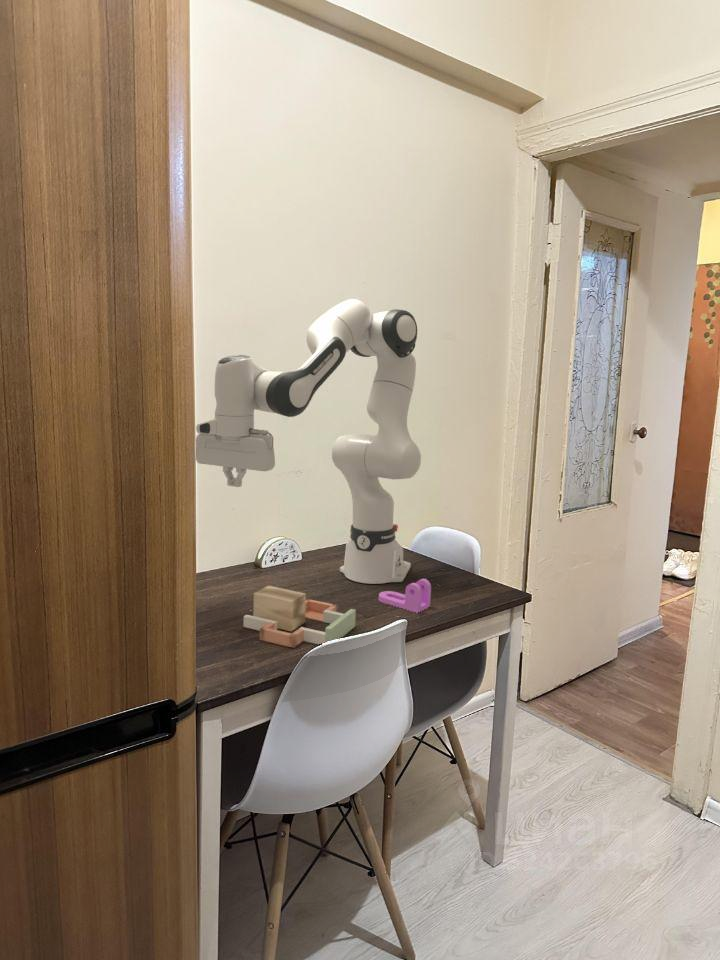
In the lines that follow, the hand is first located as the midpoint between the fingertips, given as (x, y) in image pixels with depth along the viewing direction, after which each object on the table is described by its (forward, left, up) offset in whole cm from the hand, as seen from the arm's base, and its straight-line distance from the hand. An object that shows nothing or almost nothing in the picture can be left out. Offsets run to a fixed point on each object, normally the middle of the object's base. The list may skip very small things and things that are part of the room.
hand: (234, 486), depth 159 cm
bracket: (-21, +35, -30) cm, 50 cm away
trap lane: (+4, +19, -29) cm, 35 cm away
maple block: (+4, +15, -29) cm, 33 cm away
